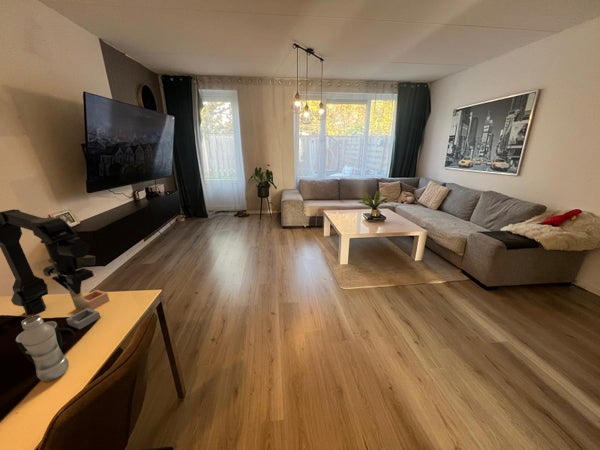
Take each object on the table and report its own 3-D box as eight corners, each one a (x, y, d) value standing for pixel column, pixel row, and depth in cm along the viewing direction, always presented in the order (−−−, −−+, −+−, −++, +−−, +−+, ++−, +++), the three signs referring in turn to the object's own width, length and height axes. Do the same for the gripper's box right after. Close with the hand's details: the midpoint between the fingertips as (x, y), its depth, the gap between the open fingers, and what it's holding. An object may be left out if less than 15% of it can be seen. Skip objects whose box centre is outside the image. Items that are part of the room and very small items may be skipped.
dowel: (73, 308, 89) (64, 284, 86) (83, 303, 92) (74, 280, 89) (78, 309, 88) (69, 286, 85) (88, 305, 91) (79, 282, 88)
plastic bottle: (53, 366, 74) (29, 312, 68) (77, 364, 74) (54, 310, 68) (33, 386, 68) (4, 329, 61) (59, 383, 68) (32, 327, 62)
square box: (81, 308, 100) (77, 298, 98) (100, 299, 106) (97, 289, 105) (91, 312, 98) (88, 302, 96) (110, 302, 104) (107, 292, 102)
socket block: (69, 326, 90) (66, 319, 89) (90, 315, 96) (87, 307, 95) (80, 331, 88) (77, 323, 86) (101, 319, 94) (98, 311, 93)
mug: (24, 374, 72) (10, 347, 68) (32, 353, 79) (20, 329, 75) (77, 354, 78) (66, 329, 75) (80, 337, 85) (71, 313, 82)
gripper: (103, 249, 87) (115, 286, 92) (73, 242, 94) (85, 277, 99) (65, 262, 77) (81, 303, 82) (35, 254, 84) (50, 292, 89)
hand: (75, 292), depth 88 cm, fingers closed on dowel, 3 cm apart
